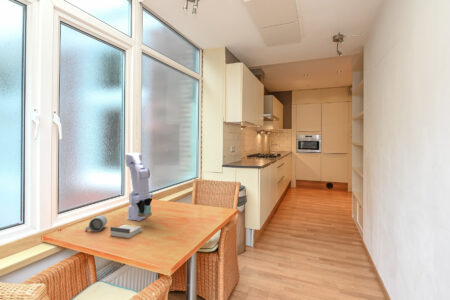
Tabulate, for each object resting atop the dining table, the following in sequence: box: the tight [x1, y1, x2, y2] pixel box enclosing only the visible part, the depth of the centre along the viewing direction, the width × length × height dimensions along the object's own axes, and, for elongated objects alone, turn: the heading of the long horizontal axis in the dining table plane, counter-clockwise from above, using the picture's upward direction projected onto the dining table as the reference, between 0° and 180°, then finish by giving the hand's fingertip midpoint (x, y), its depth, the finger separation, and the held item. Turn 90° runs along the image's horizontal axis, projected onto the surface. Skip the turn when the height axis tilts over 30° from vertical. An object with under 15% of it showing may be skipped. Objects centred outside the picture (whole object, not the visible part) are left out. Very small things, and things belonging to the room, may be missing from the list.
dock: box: [109, 224, 142, 239], centre depth 127 cm, size 12×10×4 cm
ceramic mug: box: [85, 215, 108, 233], centre depth 134 cm, size 11×8×8 cm
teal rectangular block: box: [138, 204, 153, 218], centre depth 138 cm, size 7×4×6 cm, turn 71°
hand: (144, 211), depth 138 cm, fingers closed on teal rectangular block, 4 cm apart
